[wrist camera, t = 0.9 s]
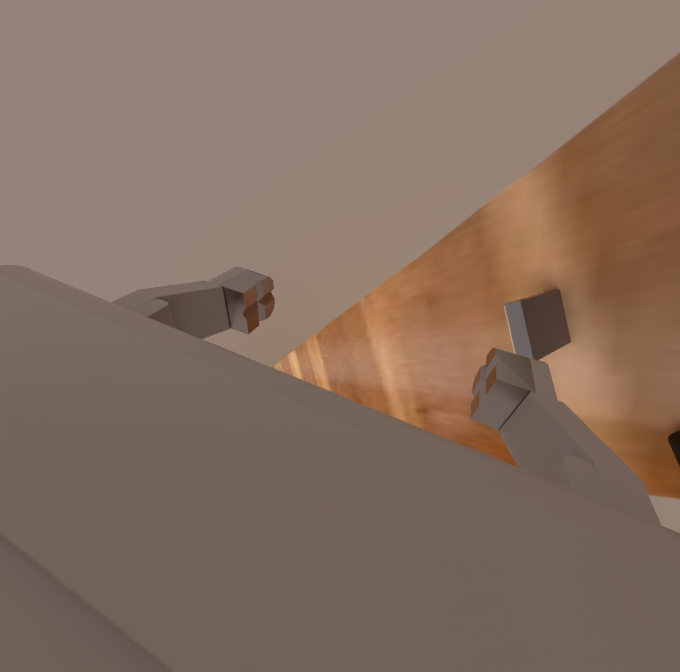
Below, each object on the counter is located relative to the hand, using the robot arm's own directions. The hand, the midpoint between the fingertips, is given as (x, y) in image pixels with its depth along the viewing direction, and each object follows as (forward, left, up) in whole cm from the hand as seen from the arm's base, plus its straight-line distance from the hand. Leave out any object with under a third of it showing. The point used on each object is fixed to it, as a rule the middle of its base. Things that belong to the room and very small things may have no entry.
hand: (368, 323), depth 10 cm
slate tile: (+12, +2, -44) cm, 46 cm away
